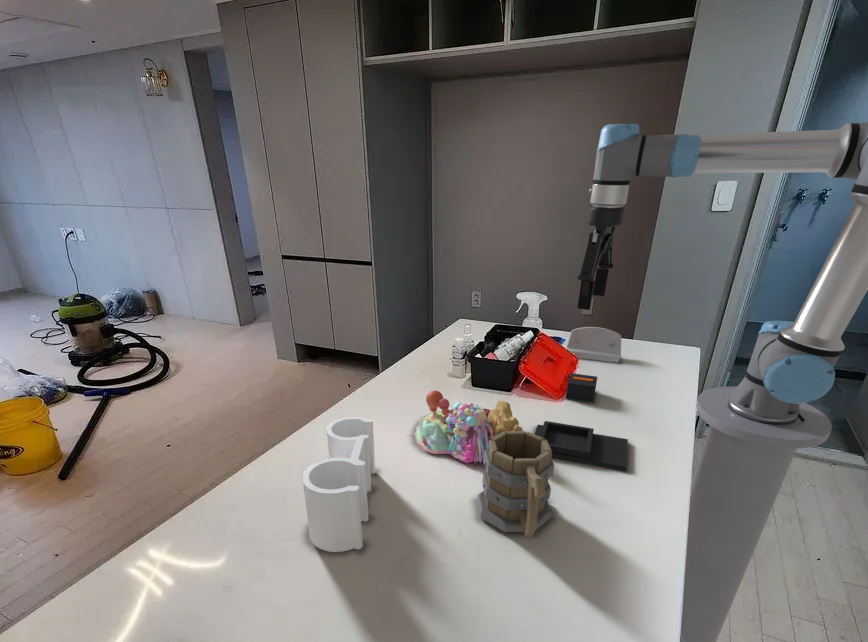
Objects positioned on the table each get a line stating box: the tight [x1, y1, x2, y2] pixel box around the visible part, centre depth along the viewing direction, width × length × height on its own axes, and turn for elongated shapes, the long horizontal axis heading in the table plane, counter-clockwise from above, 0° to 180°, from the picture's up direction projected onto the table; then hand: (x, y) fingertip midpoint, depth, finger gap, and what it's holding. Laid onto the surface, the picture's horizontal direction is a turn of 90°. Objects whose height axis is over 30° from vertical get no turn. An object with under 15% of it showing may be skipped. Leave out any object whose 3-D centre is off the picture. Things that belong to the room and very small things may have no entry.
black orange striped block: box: [565, 372, 598, 403], centre depth 135 cm, size 7×7×5 cm
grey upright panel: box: [565, 326, 622, 364], centre depth 159 cm, size 17×5×10 cm, turn 70°
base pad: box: [534, 420, 629, 472], centre depth 112 cm, size 20×12×2 cm, turn 69°
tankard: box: [477, 430, 555, 538], centre depth 87 cm, size 20×13×15 cm, turn 1°
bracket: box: [302, 416, 376, 553], centre depth 92 cm, size 25×10×12 cm, turn 177°
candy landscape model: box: [414, 389, 523, 466], centre depth 114 cm, size 25×24×9 cm
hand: (591, 302), depth 121 cm, fingers open, 13 cm apart
